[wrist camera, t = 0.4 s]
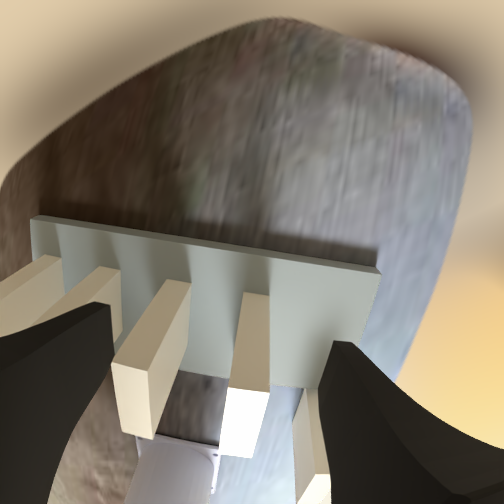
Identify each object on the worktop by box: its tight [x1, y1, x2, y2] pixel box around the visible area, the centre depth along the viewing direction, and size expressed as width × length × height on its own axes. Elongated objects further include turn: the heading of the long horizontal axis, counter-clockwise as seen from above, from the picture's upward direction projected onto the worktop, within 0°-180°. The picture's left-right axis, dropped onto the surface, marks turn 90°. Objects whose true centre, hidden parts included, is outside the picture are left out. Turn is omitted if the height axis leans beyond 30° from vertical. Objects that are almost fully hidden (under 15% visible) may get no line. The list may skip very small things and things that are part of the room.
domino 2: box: [28, 266, 123, 342], centre depth 15 cm, size 4×2×8 cm, turn 171°
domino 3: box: [111, 279, 192, 440], centre depth 15 cm, size 4×2×8 cm, turn 171°
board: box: [30, 215, 382, 389], centre depth 20 cm, size 9×22×1 cm, turn 81°
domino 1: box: [0, 254, 65, 337], centre depth 15 cm, size 4×2×8 cm, turn 171°
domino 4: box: [218, 292, 270, 458], centre depth 15 cm, size 4×2×8 cm, turn 171°
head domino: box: [292, 388, 331, 504], centre depth 19 cm, size 4×2×8 cm, turn 171°
